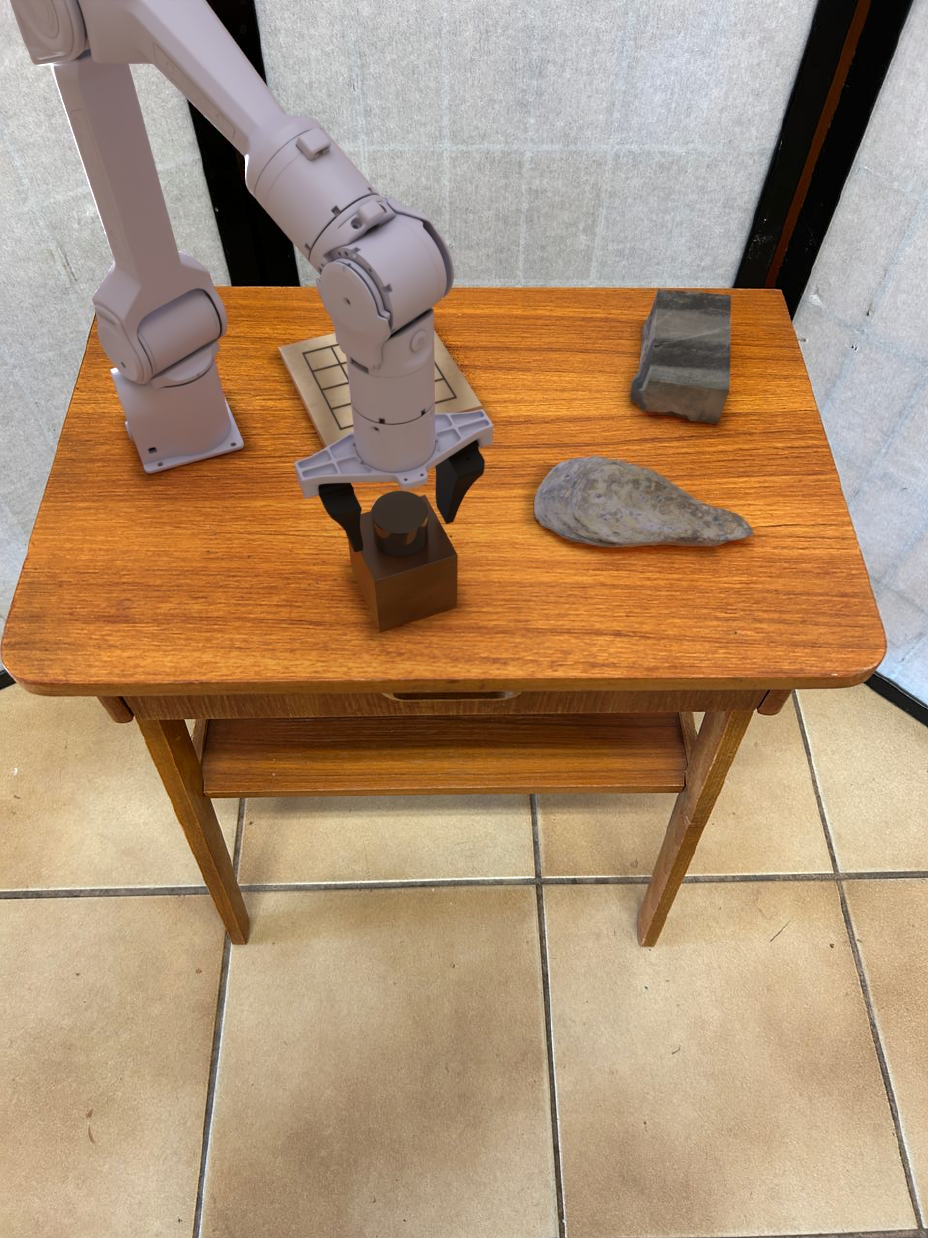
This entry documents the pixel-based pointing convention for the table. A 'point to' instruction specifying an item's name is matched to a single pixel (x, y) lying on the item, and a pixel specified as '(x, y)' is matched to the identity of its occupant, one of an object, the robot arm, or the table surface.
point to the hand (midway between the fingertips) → (400, 528)
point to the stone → (628, 507)
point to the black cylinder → (400, 523)
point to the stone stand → (406, 576)
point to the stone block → (685, 356)
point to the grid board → (327, 385)
